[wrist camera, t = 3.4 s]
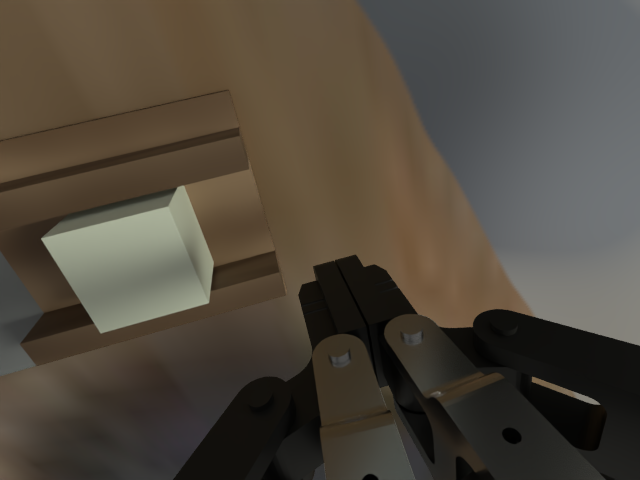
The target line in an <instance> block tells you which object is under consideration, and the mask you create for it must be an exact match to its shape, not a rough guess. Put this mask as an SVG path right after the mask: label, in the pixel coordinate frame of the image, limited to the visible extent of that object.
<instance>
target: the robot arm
mask: <svg viewBox="0 0 640 480" xmlns="http://www.w3.org/2000/svg"><path fill="white" fill-rule="evenodd" d="M313 269H314V273H315V278H316V281H313V282H310V283H306V284H302V286H301V289H300V292H299V299H300V303H301V307H302V311H303V315H304V318H305V322H306V326H307V330H308V334H309V338H310V342H311V345H312V357H311V360H310V362H309V363H308V365H307V366H306V367H305V369H304V370H303V371H301V372H300V373H299V374H298V375H296V376H295V377H293V378H291V379H290V380H288V381H287V382H285V381H284V380H282V379H280V378H277V377H262V378H259V379H256V380H254V381H252V382H250V383H249V384H247V385H246V386H245V387H244V388H242V389H241V391H240V392H239V393H238V394H237V395H236V397H235V398H234V399H233V401H232V402H231V403H230V405H229V406H228V407H227V409H226V410H225V411H224V413H223V414H222V415H221V417H220V418H219V419H218V421H217V422H216V423H215V425H214V426H213V427H212V429H211V430H210V431H209V433H208V434H207V435H206V437H205V438H204V439H203V441H202V442H201V443H200V445H199V446H198V447H197V449H196V450H195V451H194V453H193V454H192V455H191V457H190V458H189V459H188V461H187V462H186V463H185V465H184V466H183V467H182V469H181V470H180V471H179V473H178V474H177V475H176V477H175V478H174V479H173V480H312V479H313V477H314V472H315V469H316V468H317V467H319V466H320V465H321V464H323V463H324V467H325V475H326V480H415V478H414V475H413V472H412V469H411V467H410V464H409V461H408V458H407V455H406V452H405V449H404V447H403V444H402V441H401V438H400V435H399V432H398V429H397V427H396V424H395V421H394V418H393V416H392V413H391V411H390V410H387V408H386V405H385V402H384V399H383V396H382V393H381V391H380V388H381V387H384V386H388V385H389V387H390V389H391V391H392V394H393V398H394V405H395V409H396V411H397V413H398V415H399V417H400V419H401V420H402V422H403V424H404V426H405V427H406V429H407V431H408V433H409V435H410V436H411V438H412V440H413V442H414V444H415V445H416V447H417V449H418V451H419V453H420V454H421V456H422V458H423V460H424V462H425V463H426V465H427V467H428V469H429V471H430V473H431V475H432V477H433V479H434V480H640V346H639V345H635V344H631V343H627V342H624V341H620V340H616V339H613V338H609V337H605V336H602V335H598V334H594V333H590V332H587V331H583V330H579V329H576V328H572V327H569V326H565V325H561V324H558V323H554V322H550V321H546V320H543V319H539V318H536V317H532V316H528V315H525V314H521V313H517V312H514V311H509V310H503V309H495V310H488V311H485V312H483V313H481V314H479V315H478V316H477V317H476V318H475V319H474V322H473V327H466V328H443V327H439V326H438V325H437V324H436V323H435V322H434V321H433V320H431V319H430V318H428V317H426V316H422V315H418V314H417V312H416V311H415V309H414V308H413V307H412V305H411V304H410V303H409V301H408V300H407V299H406V297H405V296H404V294H403V293H402V292H401V290H400V289H399V288H398V286H397V285H396V283H395V282H394V281H393V280H392V278H391V277H390V275H389V274H388V273H387V271H386V270H384V269H382V268H381V267H379V266H377V265H375V264H374V265H370V266H367V267H363V265H362V263H361V262H360V260H359V259H358V257H357V256H356V255H352V256H349V257H345V258H341V259H338V260H335V262H334V261H331V262H327V263H323V264H320V265H316V266H313ZM532 376H533V377H536V378H538V379H541V380H544V381H547V382H549V383H552V384H555V385H558V386H560V387H563V388H566V389H568V390H571V391H574V392H577V393H579V394H582V395H585V396H588V397H590V398H592V399H594V400H596V401H597V402H599V403H600V404H601V405H594V404H590V403H586V402H584V401H581V400H579V399H576V398H573V397H571V396H568V395H565V394H563V393H560V392H557V391H555V390H552V389H549V388H547V387H544V386H541V385H539V384H536V383H533V382H532Z"/></svg>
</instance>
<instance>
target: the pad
mask: <svg viewBox="0 0 640 480" xmlns="http://www.w3.org/2000/svg"><path fill="white" fill-rule="evenodd" d="M43 314H44V313H43V311H42V310H41V308H40V307H39V305H38V304H37V303H36V301H35V300H34V298H33V297H32V296H31V294H30V293H29V291H28V290H27V288H26V287H25V286H24V284H23V283H22V281H21V280H20V278H19V277H18V276H17V274H16V273H15V271H14V270H13V269H12V267H11V266H10V264H9V263H8V261H7V260H6V259H5V257H4V256H3V254H2V253H1V252H0V376H2V375H5V374H9V373H12V372H16V371H20V370H23V369H27V368H30V367H34V366H36V365H35V363H34V362H33V361H32V359H31V358H30V357H29V356H28V354H27V353H26V352H25V351H24V349H23V348H22V347H21V346H20V343H21V342H22V341H23V339H24V338H25V337H26V335H27V334H28V333H29V332H30V330H31V329H32V328H33V326H34V325H35V324H36V323H37V321H38V320H39V319H40V318H41V316H42V315H43Z"/></svg>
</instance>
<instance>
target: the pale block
mask: <svg viewBox="0 0 640 480" xmlns="http://www.w3.org/2000/svg"><path fill="white" fill-rule="evenodd" d="M41 240H42V241H43V243H44V244H45V246H46V248H47V249H48V251H49V252H50V254H51V256H52V257H53V259H54V260H55V262H56V263H57V265H58V267H59V268H60V270H61V271H62V273H63V275H64V276H65V278H66V279H67V281H68V282H69V284H70V286H71V287H72V289H73V290H74V292H75V294H76V295H77V297H78V298H79V300H80V301H81V303H82V305H83V306H84V308H85V309H86V311H87V313H88V314H89V316H90V317H91V319H92V320H93V322H94V324H95V325H96V327H97V328H98V330H99V332H100V333H104V332H108V331H111V330H115V329H118V328H122V327H126V326H129V325H133V324H136V323H140V322H143V321H147V320H151V319H154V318H158V317H161V316H165V315H168V314H172V313H175V312H179V311H183V310H186V309H190V308H193V307H197V306H200V305H204V304H208V303H209V299H210V290H211V282H212V273H213V265H214V261H213V259H212V256H211V254H210V251H209V249H208V246H207V243H206V241H205V238H204V236H203V233H202V231H201V228H200V225H199V223H198V220H197V218H196V215H195V213H194V210H193V207H192V205H191V202H190V200H189V197H188V195H187V192H186V189H185V187H184V186H180V187H176V188H172V189H167V190H163V191H159V192H155V193H151V194H147V195H143V196H139V197H135V198H131V199H127V200H123V201H119V202H115V203H111V204H107V205H103V206H99V207H95V208H91V209H86V210H82V211H78V212H74V213H70V214H68V215H67V216H66V217H65V218H64V219H62V220H61V221H60V222H59V223H58V224H57V225H56V226H54V227H53V228H52V229H51V230H50V231H49V232H48V233H47V234H45V235H44V236H43V237H42V238H41Z"/></svg>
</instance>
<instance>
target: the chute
mask: <svg viewBox="0 0 640 480" xmlns="http://www.w3.org/2000/svg"><path fill="white" fill-rule="evenodd" d="M180 186H184V187H185V189H186V192H187V195H188V197H189V200H190V202H191V205H192V207H193V210H194V213H195V215H196V218H197V220H198V223H199V225H200V228H201V231H202V233H203V236H204V238H205V241H206V243H207V246H208V249H209V251H210V254H211V256H212V259H213V261H214V265H213V273H212V282H211V290H210V299H209V303H208V304H204V305H200V306H197V307H193V308H190V309H186V310H183V311H179V312H175V313H172V314H168V315H165V316H161V317H158V318H154V319H151V320H147V321H143V322H140V323H136V324H133V325H129V326H126V327H122V328H118V329H115V330H111V331H108V332H104V333H100V332H99V330H98V328H97V327H96V325H95V324H94V322H93V320H92V319H91V317H90V316H89V314H88V313H87V311H86V309H85V308H84V306H83V305H82V303H81V301H80V300H79V298H78V297H77V295H76V294H75V292H74V290H73V289H72V287H71V286H70V284H69V282H68V281H67V279H66V278H65V276H64V275H63V273H62V271H61V270H60V268H59V267H58V265H57V263H56V262H55V260H54V259H53V257H52V256H51V254H50V252H49V251H48V249H47V248H46V246H45V244H44V243H43V241H42V240H41V238H42V237H43V236H44V235H45V234H47V233H48V232H49V231H50V230H51V229H52V228H53V227H54V226H56V225H57V224H58V223H59V222H60V221H61V220H62V219H64V218H65V217H66V216H67V215H68V214H70V213H74V212H78V211H82V210H86V209H91V208H95V207H99V206H103V205H107V204H111V203H115V202H119V201H123V200H127V199H131V198H135V197H139V196H143V195H147V194H151V193H155V192H159V191H163V190H167V189H172V188H176V187H180ZM0 252H1V253H2V254H3V256H4V257H5V259H6V260H7V261H8V263H9V264H10V266H11V267H12V269H13V270H14V271H15V273H16V274H17V276H18V277H19V278H20V280H21V281H22V283H23V284H24V286H25V287H26V288H27V290H28V291H29V293H30V294H31V296H32V297H33V298H34V300H35V301H36V303H37V304H38V305H39V307H40V308H41V310H42V311H43V313H44V314H43V315H42V316H41V318H40V319H39V320H38V321H37V323H36V324H35V325H34V326H33V328H32V329H31V330H30V332H29V333H28V334H27V335H26V337H25V338H24V339H23V341H22V342H21V343H20V346H21V347H22V348H23V349H24V351H25V352H26V353H27V354H28V356H29V357H30V358H31V359H32V361H33V362H34V363H35V365H36V366H39V365H42V364H46V363H49V362H53V361H56V360H60V359H63V358H67V357H70V356H74V355H77V354H81V353H84V352H88V351H91V350H95V349H98V348H102V347H105V346H109V345H112V344H116V343H120V342H123V341H127V340H130V339H134V338H137V337H141V336H144V335H148V334H151V333H155V332H158V331H162V330H165V329H169V328H172V327H176V326H179V325H183V324H186V323H190V322H193V321H197V320H200V319H204V318H208V317H211V316H215V315H218V314H222V313H225V312H229V311H232V310H236V309H239V308H243V307H246V306H250V305H253V304H257V303H260V302H264V301H267V300H271V299H274V298H278V297H281V296H285V295H287V289H286V286H285V282H284V279H283V275H282V272H281V268H280V265H279V262H278V258H277V255H276V251H275V248H274V244H273V241H272V237H271V234H270V230H269V227H268V223H267V220H266V217H265V213H264V210H263V206H262V203H261V199H260V196H259V192H258V189H257V185H256V182H255V178H254V175H253V172H252V168H251V165H250V161H249V158H248V154H247V151H246V147H245V144H244V140H243V137H242V133H241V130H240V127H239V123H238V120H237V116H236V113H235V109H234V106H233V102H232V99H231V95H230V92H229V90H226V91H221V92H217V93H212V94H208V95H203V96H199V97H194V98H190V99H185V100H181V101H177V102H172V103H168V104H163V105H159V106H154V107H150V108H145V109H141V110H136V111H132V112H127V113H123V114H118V115H114V116H110V117H105V118H101V119H96V120H92V121H87V122H83V123H78V124H74V125H69V126H65V127H60V128H56V129H51V130H47V131H43V132H38V133H34V134H29V135H25V136H20V137H16V138H11V139H7V140H2V141H0Z"/></svg>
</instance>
